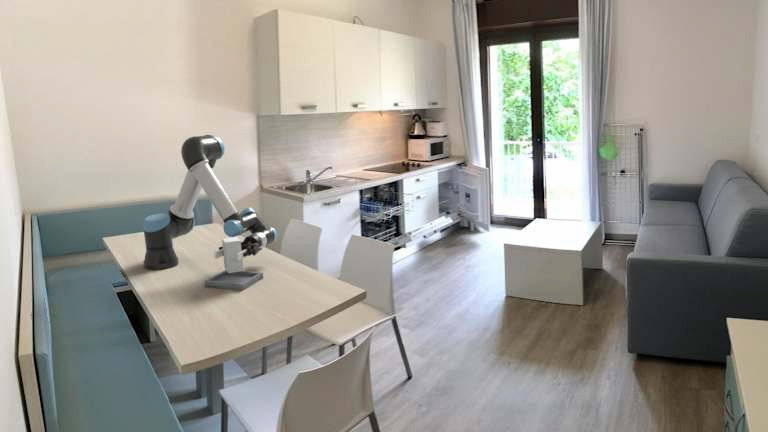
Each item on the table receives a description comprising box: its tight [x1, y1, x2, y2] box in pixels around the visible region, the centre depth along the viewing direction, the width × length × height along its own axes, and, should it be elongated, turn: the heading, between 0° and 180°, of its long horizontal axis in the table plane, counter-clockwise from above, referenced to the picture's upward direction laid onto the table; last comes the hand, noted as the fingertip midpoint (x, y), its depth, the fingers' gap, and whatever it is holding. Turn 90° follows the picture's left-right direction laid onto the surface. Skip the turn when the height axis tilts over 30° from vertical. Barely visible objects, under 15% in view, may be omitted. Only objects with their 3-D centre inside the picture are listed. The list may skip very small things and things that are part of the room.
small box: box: [221, 236, 244, 273], centre depth 230 cm, size 8×6×13 cm
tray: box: [204, 269, 264, 291], centre depth 232 cm, size 18×16×2 cm
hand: (226, 256), depth 226 cm, fingers closed on small box, 10 cm apart
